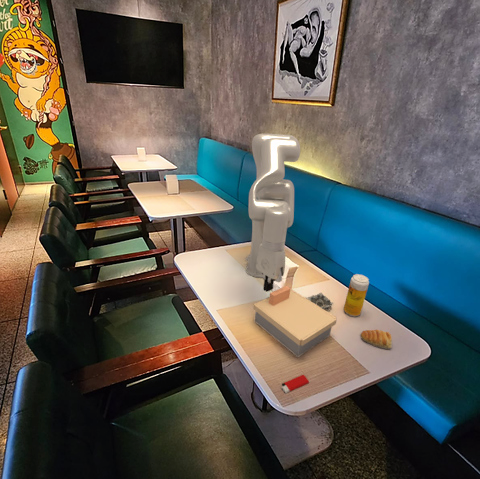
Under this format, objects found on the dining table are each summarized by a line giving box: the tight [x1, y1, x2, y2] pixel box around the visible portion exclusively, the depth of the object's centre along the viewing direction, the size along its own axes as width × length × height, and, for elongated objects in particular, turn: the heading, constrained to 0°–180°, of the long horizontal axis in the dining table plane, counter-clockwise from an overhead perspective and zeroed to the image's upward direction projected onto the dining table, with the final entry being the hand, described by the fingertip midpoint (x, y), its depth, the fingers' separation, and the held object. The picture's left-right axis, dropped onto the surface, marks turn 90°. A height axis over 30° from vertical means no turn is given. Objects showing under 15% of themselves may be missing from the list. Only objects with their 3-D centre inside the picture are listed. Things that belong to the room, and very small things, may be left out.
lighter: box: [281, 374, 310, 394], centre depth 83 cm, size 3×1×8 cm
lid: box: [252, 285, 337, 346], centre depth 100 cm, size 21×18×6 cm
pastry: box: [360, 329, 393, 350], centre depth 100 cm, size 9×7×4 cm
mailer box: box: [254, 310, 333, 358], centre depth 102 cm, size 20×16×6 cm
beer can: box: [343, 273, 370, 317], centre depth 111 cm, size 6×6×15 cm
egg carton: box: [305, 292, 334, 311], centre depth 114 cm, size 11×8×4 cm
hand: (267, 289), depth 109 cm, fingers closed
